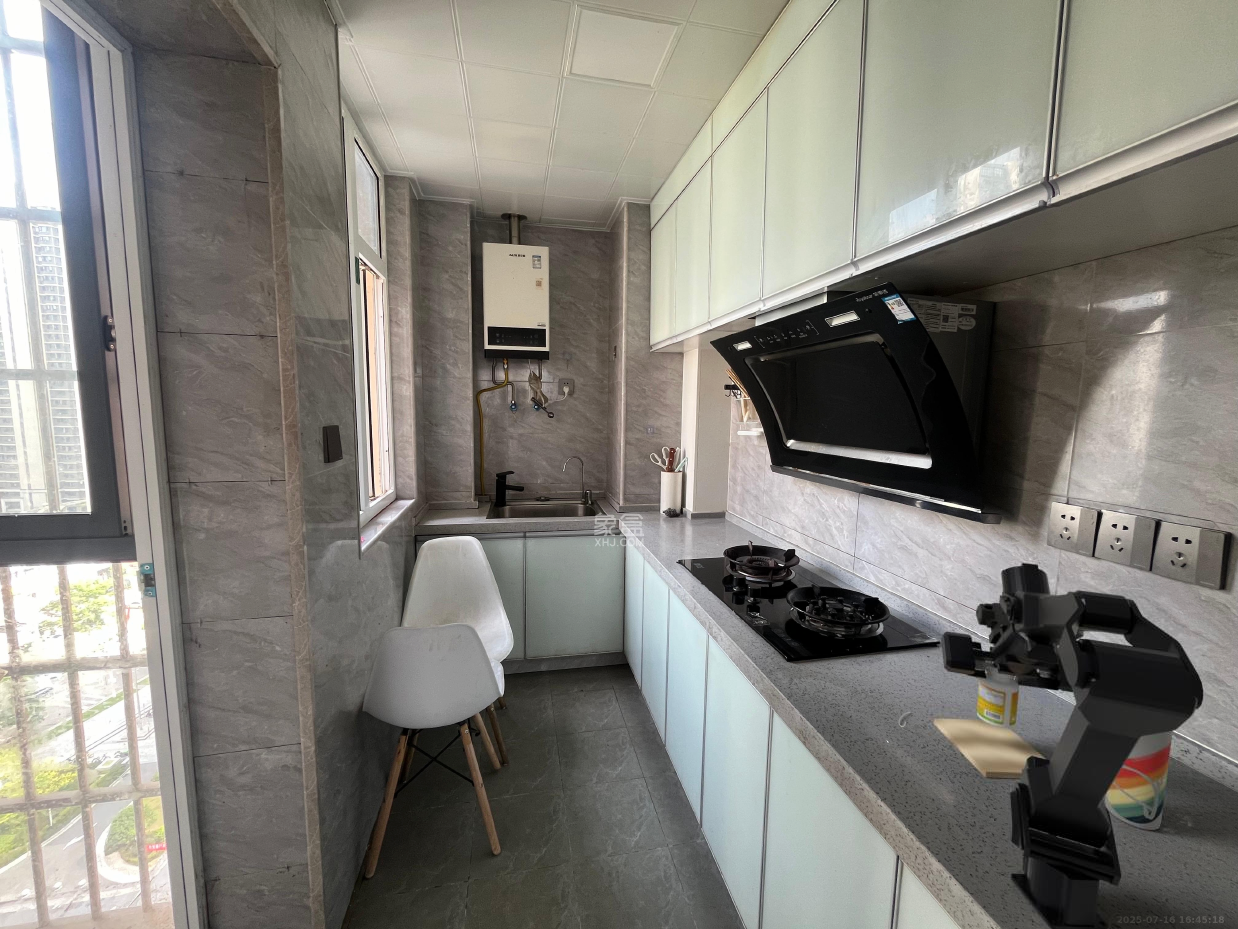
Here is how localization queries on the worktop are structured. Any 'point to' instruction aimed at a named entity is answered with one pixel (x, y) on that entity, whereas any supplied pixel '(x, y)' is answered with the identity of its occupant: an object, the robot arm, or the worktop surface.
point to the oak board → (988, 746)
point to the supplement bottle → (998, 699)
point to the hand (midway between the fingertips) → (996, 678)
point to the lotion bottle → (1142, 783)
